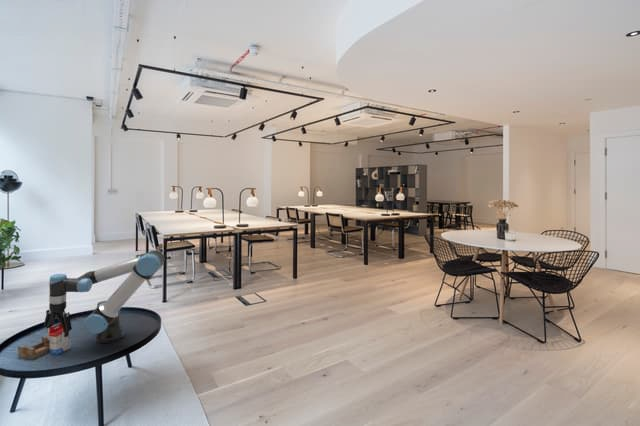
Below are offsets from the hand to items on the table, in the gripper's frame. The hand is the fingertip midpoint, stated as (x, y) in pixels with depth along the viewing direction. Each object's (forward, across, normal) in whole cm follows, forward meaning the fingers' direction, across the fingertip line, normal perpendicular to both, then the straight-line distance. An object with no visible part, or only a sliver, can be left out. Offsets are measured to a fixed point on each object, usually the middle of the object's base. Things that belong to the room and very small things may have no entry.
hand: (57, 340), depth 190 cm
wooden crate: (+6, +7, +5) cm, 11 cm away
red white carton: (+6, -2, 0) cm, 6 cm away
